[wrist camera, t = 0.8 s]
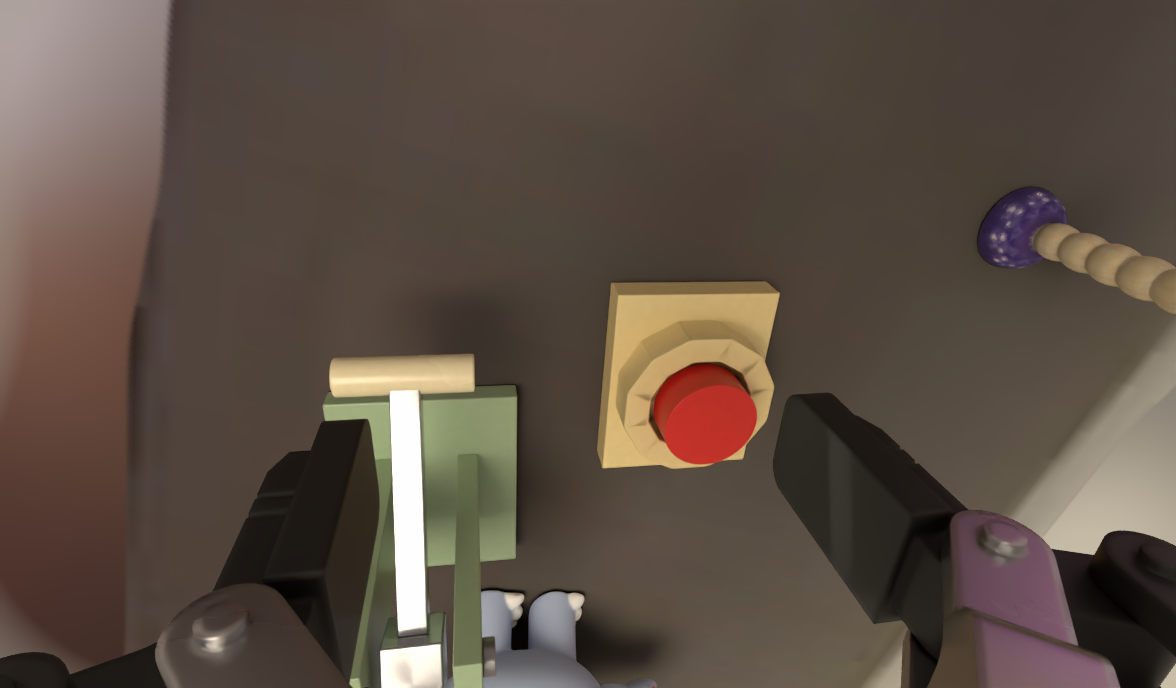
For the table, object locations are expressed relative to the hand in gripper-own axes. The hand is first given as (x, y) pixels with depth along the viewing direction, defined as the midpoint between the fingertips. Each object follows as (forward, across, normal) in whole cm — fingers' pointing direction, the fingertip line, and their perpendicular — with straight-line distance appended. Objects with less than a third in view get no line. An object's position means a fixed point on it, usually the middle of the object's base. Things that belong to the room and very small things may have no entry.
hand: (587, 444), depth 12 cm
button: (+14, -8, +8) cm, 18 cm away
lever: (+10, +5, +10) cm, 15 cm away
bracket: (+18, +5, +14) cm, 23 cm away
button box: (+17, -8, +8) cm, 21 cm away
